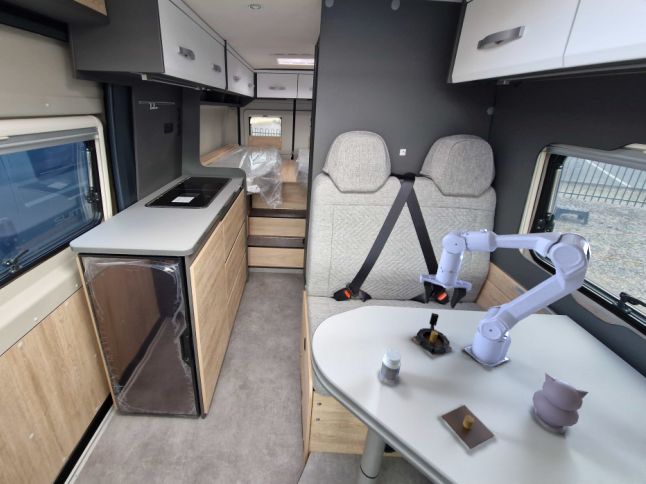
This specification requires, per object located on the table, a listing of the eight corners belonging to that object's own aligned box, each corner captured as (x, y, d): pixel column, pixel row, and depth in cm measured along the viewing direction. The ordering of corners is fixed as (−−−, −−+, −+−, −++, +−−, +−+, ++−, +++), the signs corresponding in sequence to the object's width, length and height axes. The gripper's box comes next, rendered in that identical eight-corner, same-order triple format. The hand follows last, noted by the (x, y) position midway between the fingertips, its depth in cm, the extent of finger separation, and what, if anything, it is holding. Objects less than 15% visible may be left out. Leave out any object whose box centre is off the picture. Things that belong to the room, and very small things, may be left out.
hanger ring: (449, 358, 90) (454, 343, 88) (415, 347, 94) (419, 333, 92) (447, 331, 101) (451, 317, 99) (416, 323, 104) (419, 309, 102)
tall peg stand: (430, 333, 101) (434, 321, 100) (451, 351, 95) (454, 338, 93) (412, 339, 98) (415, 327, 97) (431, 358, 92) (435, 345, 90)
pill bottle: (398, 387, 82) (403, 363, 79) (380, 383, 83) (384, 360, 80) (396, 372, 86) (401, 349, 83) (378, 369, 87) (383, 346, 84)
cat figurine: (525, 420, 75) (542, 385, 70) (528, 398, 80) (543, 364, 76) (571, 445, 70) (592, 408, 65) (570, 420, 75) (590, 384, 71)
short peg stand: (463, 408, 77) (466, 398, 76) (493, 438, 70) (497, 428, 69) (439, 419, 74) (442, 409, 73) (468, 452, 67) (473, 442, 66)
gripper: (425, 270, 93) (416, 306, 98) (478, 278, 90) (466, 316, 95) (422, 259, 99) (414, 294, 104) (472, 267, 96) (461, 303, 101)
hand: (439, 304), depth 100 cm, fingers open, 7 cm apart
